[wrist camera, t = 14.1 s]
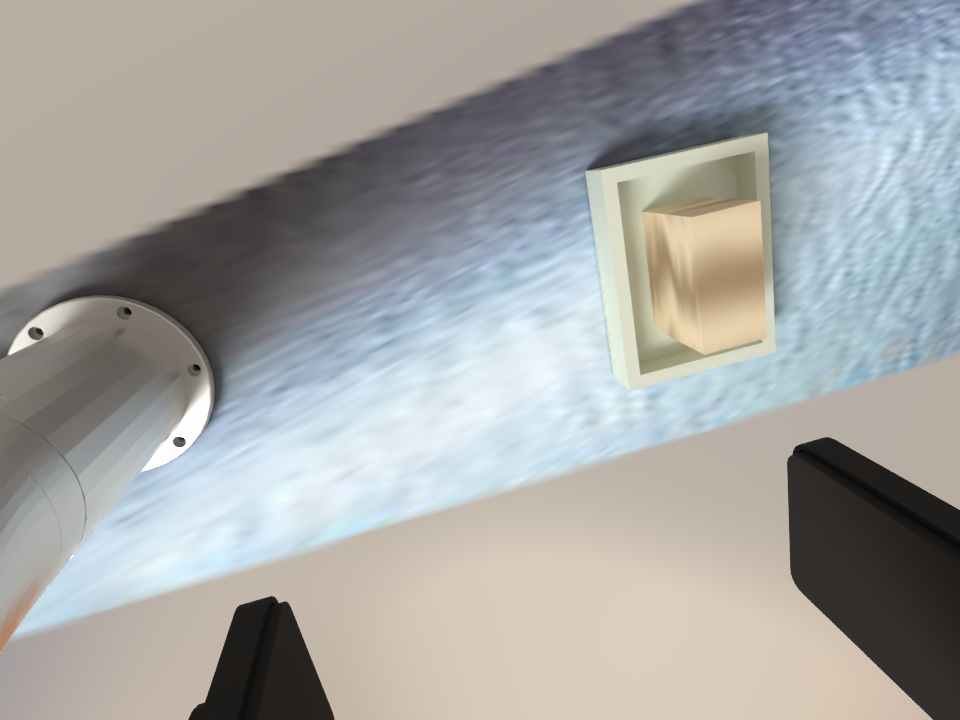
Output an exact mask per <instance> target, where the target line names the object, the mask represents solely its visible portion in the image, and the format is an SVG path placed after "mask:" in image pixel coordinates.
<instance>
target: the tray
mask: <svg viewBox="0 0 960 720" xmlns="http://www.w3.org/2000/svg"><path fill="white" fill-rule="evenodd" d="M585 174H586V181H587V189H588V196H589V203H590V210H591V217H592V225H593V232H594V239H595V246H596V254H597V261H598V268H599V275H600V283H601V290H602V297H603V304H604V312H605V319H606V326H607V333H608V341H609V348H610V355H611V362H612V370H613V377H614V379H616V380H617V381H618V382H619V383H620V384H622V385H623V386H624V387H625V388H627V389H628V390H629V391H631V390H634V389H638V388H642V387H645V386H649V385H653V384H657V383H660V382H664V381H668V380H672V379H675V378H679V377H683V376H686V375H690V374H694V373H698V372H701V371H705V370H709V369H713V368H716V367H720V366H724V365H727V364H731V363H735V362H739V361H742V360H746V359H750V358H754V357H757V356H761V355H765V354H769V353H772V352H776V346H775V318H774V290H773V262H772V234H771V206H770V178H769V150H768V133H760V134H752V135H744V136H738V137H734V138H729V139H725V140H721V141H716V142H712V143H707V144H703V145H698V146H694V147H690V148H685V149H681V150H676V151H672V152H667V153H663V154H659V155H654V156H650V157H645V158H641V159H637V160H632V161H628V162H623V163H619V164H614V165H610V166H606V167H601V168H597V169H592V170H588V171H585ZM699 197H703V198H723V199H743V200H760V203H761V223H762V244H763V264H764V285H765V305H766V325H767V338H764V339H761V340H757V341H753V342H750V343H746V344H743V345H739V346H735V347H732V348H728V349H724V350H721V351H717V352H713V353H710V354H706V355H704V354H702V353H700V352H698V351H696V350H694V349H692V348H690V347H688V346H687V345H685V344H683V343H681V342H679V341H677V340H675V339H673V338H671V337H670V336H668V335H666V334H664V333H662V332H660V331H658V330H656V329H655V323H654V314H653V305H652V297H651V288H650V280H649V271H648V263H647V254H646V246H645V237H644V229H643V220H642V211H646V210H650V209H654V208H658V207H662V206H666V205H670V204H674V203H678V202H682V201H686V200H691V199H695V198H699Z"/></svg>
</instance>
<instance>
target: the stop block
mask: <svg viewBox="0 0 960 720" xmlns="http://www.w3.org/2000/svg"><path fill="white" fill-rule="evenodd" d="M642 220H643V229H644V237H645V246H646V254H647V263H648V271H649V280H650V288H651V297H652V305H653V314H654V323H655V329H656V330H658V331H660V332H662V333H664V334H666V335H668V336H670V337H671V338H673V339H675V340H677V341H679V342H681V343H683V344H685V345H687V346H688V347H690V348H692V349H694V350H696V351H698V352H700V353H702V354H704V355H706V354H710V353H713V352H717V351H721V350H724V349H728V348H732V347H735V346H739V345H743V344H746V343H750V342H753V341H757V340H761V339H764V338H767V325H766V305H765V285H764V264H763V244H762V223H761V203H760V200H743V199H723V198H703V197H699V198H695V199H691V200H686V201H682V202H678V203H674V204H670V205H666V206H662V207H658V208H654V209H650V210H646V211H642Z"/></svg>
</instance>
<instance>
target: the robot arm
mask: <svg viewBox="0 0 960 720" xmlns="http://www.w3.org/2000/svg"><path fill="white" fill-rule="evenodd" d="M126 308H129V309H130V310H131V313H132V314H129V313H128V312H127V311H126ZM40 329H41V330H42V331H43V333H41V331H40ZM194 364H197V365H199V366H200V368H201V369H196V368H195V366H194ZM214 398H215V385H214V376H213V372H212V369H211V366H210V363H209V360H208V358H207V356H206V355H205V353H204V351H203V349H202V348H201V346H200V344H199V343H198V342H197V340H196V339H195V338H194V337H193V336H192V334H191V333H190V332H189V331H188V330H187V329H186V328H185V327H184V326H182V325H181V324H180V323H179V322H178V321H176V320H175V319H174V318H173V317H171V316H170V315H168V314H166V313H164V312H163V311H161V310H159V309H158V308H156V307H154V306H151V305H148V304H146V303H143V302H141V301H138V300H134V299H130V298H125V297H120V296H109V295H93V296H85V297H78V298H74V299H71V300H68V301H65V302H62V303H59V304H57V305H55V306H52V307H50V308H48V309H46V310H43V311H42V312H41V313H39V314H38V315H37V316H35V317H34V318H32V319H31V320H30V321H28V322H27V324H26V325H25V326H24V327H23V328H22V329H21V330H20V331H19V333H18V334H17V335H16V337H15V339H14V341H13V343H12V344H11V346H10V348H9V350H8V354H7V356H6V357H4V358H2V359H0V654H1V652H2V651H3V649H4V648H5V646H6V644H7V643H8V641H9V639H10V638H11V636H12V635H13V633H14V632H15V630H16V629H17V627H18V626H19V625H20V623H21V622H22V620H23V619H24V617H25V616H26V615H27V613H28V612H29V611H30V609H31V608H32V607H33V605H34V604H35V603H36V601H37V600H38V599H39V597H40V596H41V595H42V593H43V592H44V591H45V590H46V588H47V587H48V586H49V585H50V583H51V582H52V581H53V579H54V578H55V577H56V576H57V575H58V573H59V572H60V571H61V570H62V568H63V567H64V566H65V565H66V563H67V562H68V561H69V560H70V559H71V558H72V557H73V555H74V554H75V553H76V552H77V550H78V549H79V548H80V547H81V546H82V544H83V543H84V542H85V541H86V539H87V538H88V537H89V536H90V534H91V533H92V532H93V531H94V530H95V528H96V527H97V526H98V525H99V523H100V522H101V521H102V520H103V518H104V517H105V516H106V515H107V514H108V512H109V511H110V510H111V509H112V507H113V506H114V505H115V504H116V502H117V501H118V500H119V499H120V497H121V496H122V495H123V494H124V493H125V491H126V490H127V489H128V488H129V486H130V485H131V484H132V483H133V481H134V480H135V479H136V478H137V476H138V475H139V474H140V473H141V472H142V471H148V470H151V469H154V468H157V467H160V466H163V465H165V464H167V463H169V462H170V461H172V460H174V459H176V458H177V457H179V456H181V455H182V454H183V453H184V452H185V451H186V450H187V449H189V448H190V447H191V446H192V445H193V444H194V442H195V441H196V440H197V439H198V437H199V436H200V435H201V433H202V432H203V430H204V428H205V427H206V425H207V423H208V422H209V419H210V416H211V413H212V410H213V407H214ZM180 436H181V437H183V438H184V439H181V438H180ZM787 469H788V470H787V471H788V502H789V533H790V567H791V575H792V578H793V580H794V582H795V584H796V586H797V587H798V589H799V590H800V591H801V592H802V593H803V594H804V595H805V596H806V597H807V598H808V599H809V600H810V601H811V602H812V603H813V604H814V605H815V606H816V607H817V608H818V609H819V610H820V611H821V612H822V613H823V614H825V615H826V616H827V617H828V618H829V619H830V620H831V621H832V622H833V623H834V624H835V625H836V626H837V627H838V628H839V629H840V630H841V631H842V632H843V633H844V634H845V635H846V636H847V637H848V638H849V639H850V640H851V641H852V642H854V643H855V645H857V646H858V647H859V648H860V649H861V650H862V651H863V652H864V653H865V654H866V655H867V656H868V657H869V658H870V659H871V660H872V661H873V662H874V663H875V664H876V665H877V666H878V667H879V668H881V670H882V671H883V672H884V673H885V674H887V675H888V676H889V677H890V678H891V679H892V680H893V681H894V682H895V683H896V684H897V685H898V686H899V687H900V688H901V689H902V690H903V691H904V692H905V693H906V694H907V695H908V696H909V697H910V698H911V699H912V700H913V701H914V702H915V703H917V705H919V706H920V707H921V708H922V709H923V710H924V711H925V712H926V713H927V714H928V715H929V716H930V717H931V718H932V719H933V720H960V510H959V509H957V508H955V507H953V506H952V505H949V504H948V503H946V502H944V501H943V500H941V499H939V498H937V497H936V496H934V495H932V494H930V493H928V492H927V491H925V490H923V489H921V488H920V487H918V486H916V485H914V484H913V483H911V482H909V481H907V480H905V479H904V478H902V477H900V476H898V475H896V474H895V473H893V472H891V471H889V470H888V469H886V468H884V467H882V466H881V465H879V464H877V463H875V462H873V461H872V460H870V459H868V458H866V457H865V456H863V455H861V454H859V453H858V452H856V451H854V450H852V449H850V448H849V447H847V446H845V445H843V444H841V443H840V442H838V441H836V440H834V439H832V438H828V437H827V438H821V439H818V440H814V441H811V442H807V443H804V444H800V445H798V446H796V447H795V449H794V451H793V455H792V456H790V457H789V458H788V462H787ZM188 720H334V716H333V712H332V710H331V707H330V705H329V702H328V700H327V697H326V695H325V692H324V690H323V687H322V685H321V682H320V680H319V677H318V675H317V672H316V670H315V667H314V665H313V662H312V660H311V657H310V655H309V652H308V650H307V647H306V644H305V642H304V639H303V637H302V634H301V632H300V629H299V627H298V624H297V622H296V619H295V617H294V614H293V612H292V609H291V607H290V605H289V603H287V602H281V603H278V601H277V599H276V598H275V597H272V596H271V597H267V598H263V599H260V600H256V601H253V602H250V603H246V604H242V605H240V606H238V607H237V609H236V611H235V613H234V616H233V619H232V622H231V625H230V628H229V632H228V634H227V637H226V641H225V644H224V647H223V650H222V653H221V656H220V659H219V662H218V665H217V668H216V671H215V674H214V677H213V680H212V683H211V686H210V690H209V692H208V695H207V698H206V701H205V703H202V704H199V705H198V706H197V707H196V708H195V709H194V710H193V711H192V713H191V715H190V717H189V719H188Z"/></svg>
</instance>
